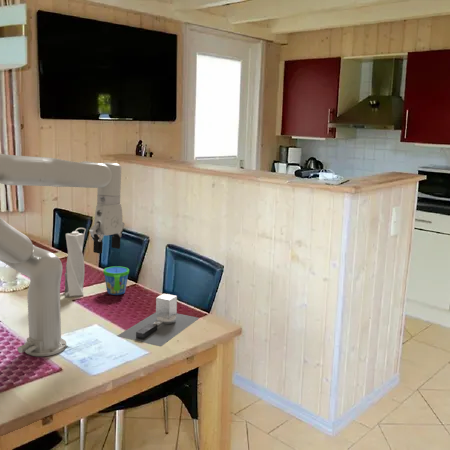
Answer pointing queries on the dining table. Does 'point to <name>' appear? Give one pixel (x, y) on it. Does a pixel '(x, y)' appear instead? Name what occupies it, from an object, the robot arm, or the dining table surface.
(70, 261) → the skyscraper
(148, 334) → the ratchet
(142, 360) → the dining table surface
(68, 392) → the dining table surface
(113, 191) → the robot arm
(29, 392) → the dining table surface
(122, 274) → the snack cup
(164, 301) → the light grey block
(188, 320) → the tool mat
